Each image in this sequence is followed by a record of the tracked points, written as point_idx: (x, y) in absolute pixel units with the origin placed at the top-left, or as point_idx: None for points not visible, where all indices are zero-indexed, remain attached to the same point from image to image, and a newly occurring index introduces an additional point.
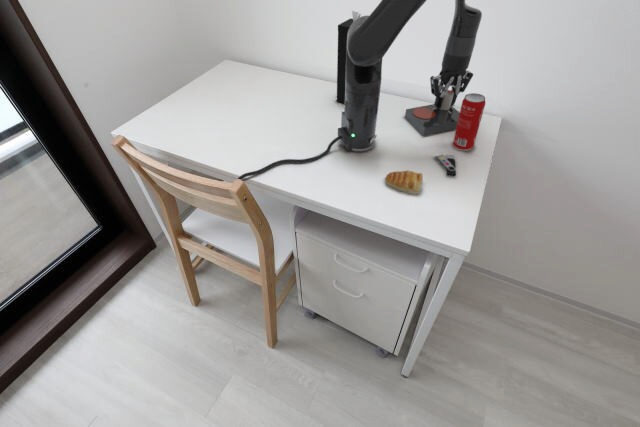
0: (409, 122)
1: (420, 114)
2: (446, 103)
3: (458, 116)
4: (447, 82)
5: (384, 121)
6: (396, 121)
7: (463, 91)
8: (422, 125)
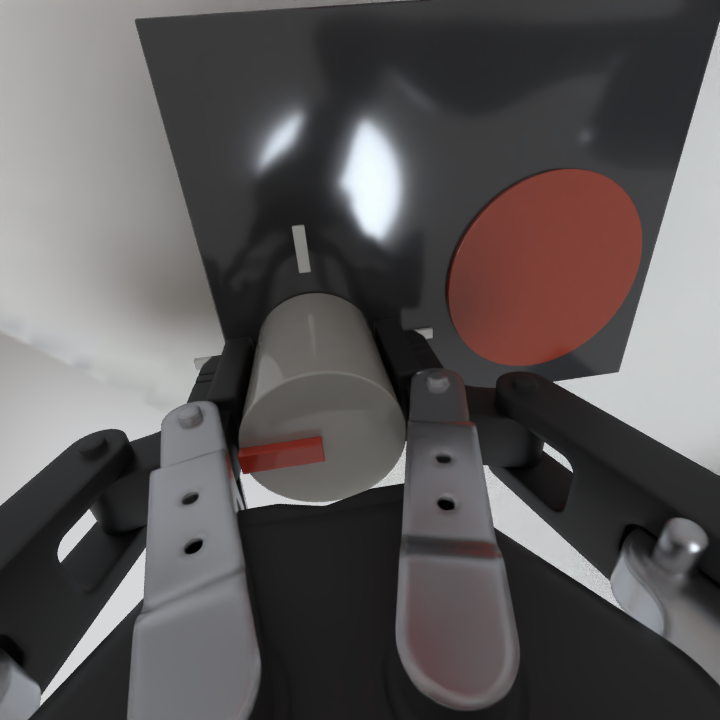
0: None
1: (590, 263)
2: (339, 324)
3: (239, 134)
4: (491, 543)
5: (713, 319)
6: (651, 304)
7: (87, 438)
8: (709, 52)
